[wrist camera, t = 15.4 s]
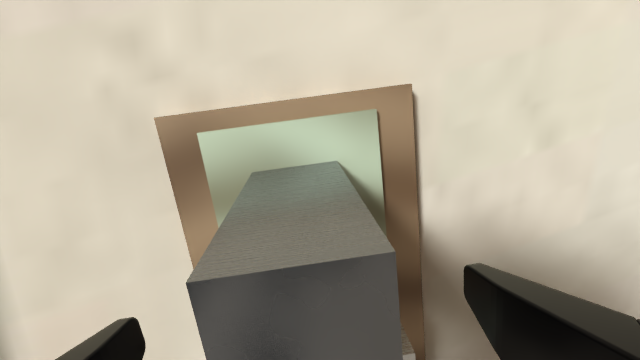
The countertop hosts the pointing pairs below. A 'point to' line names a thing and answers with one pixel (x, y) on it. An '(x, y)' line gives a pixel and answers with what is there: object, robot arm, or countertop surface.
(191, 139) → the stand board
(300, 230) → the steel key
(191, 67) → the countertop surface
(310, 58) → the countertop surface
